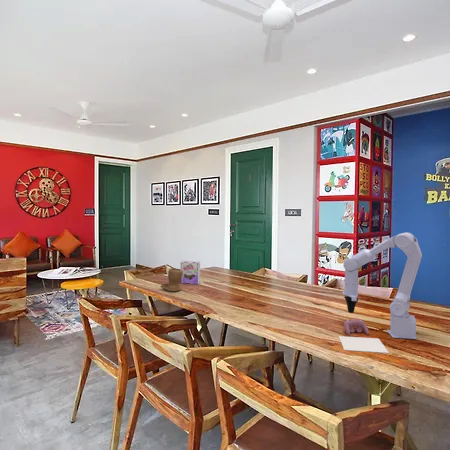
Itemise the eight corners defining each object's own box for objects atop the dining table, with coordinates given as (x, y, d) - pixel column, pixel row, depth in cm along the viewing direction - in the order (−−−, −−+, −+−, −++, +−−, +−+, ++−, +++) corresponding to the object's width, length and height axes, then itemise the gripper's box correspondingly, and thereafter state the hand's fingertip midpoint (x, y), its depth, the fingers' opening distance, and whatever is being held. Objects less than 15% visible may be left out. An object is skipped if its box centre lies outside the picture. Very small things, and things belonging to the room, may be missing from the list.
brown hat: (186, 290, 223) (186, 268, 223) (170, 293, 216) (170, 270, 215) (175, 286, 235) (174, 265, 235) (159, 289, 228) (159, 267, 227)
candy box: (180, 283, 245) (180, 261, 245) (183, 281, 251) (183, 260, 250) (197, 284, 241) (197, 262, 241) (200, 283, 247) (200, 261, 246)
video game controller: (366, 335, 145) (362, 319, 148) (370, 334, 141) (367, 317, 144) (344, 336, 145) (341, 319, 148) (347, 335, 141) (345, 318, 144)
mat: (378, 338, 137) (378, 338, 137) (389, 353, 124) (389, 352, 124) (338, 336, 140) (338, 336, 140) (344, 350, 126) (344, 349, 126)
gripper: (339, 279, 162) (339, 307, 162) (345, 286, 147) (344, 316, 148) (354, 280, 160) (354, 308, 161) (361, 287, 146) (361, 317, 147)
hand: (350, 312), depth 154 cm, fingers closed
